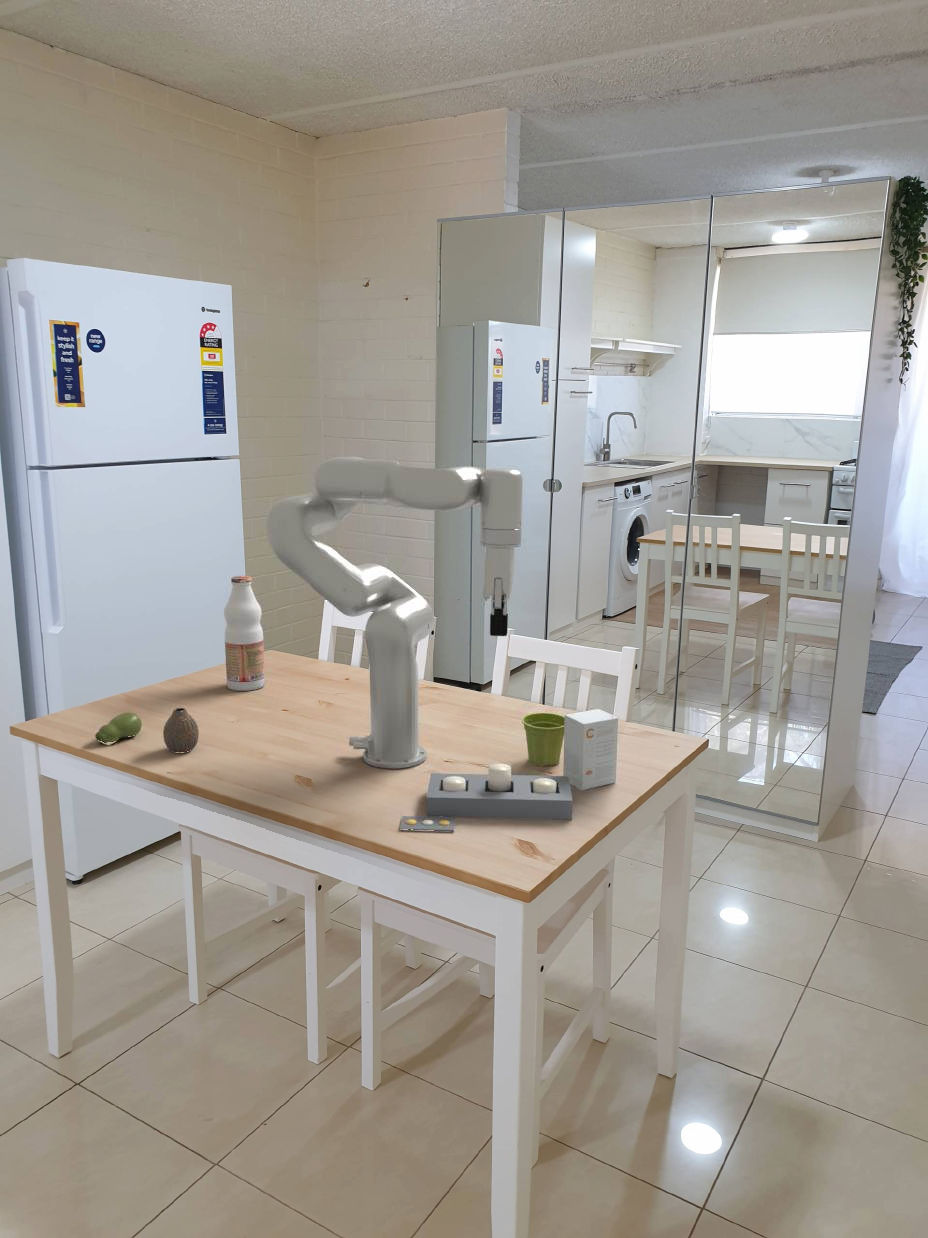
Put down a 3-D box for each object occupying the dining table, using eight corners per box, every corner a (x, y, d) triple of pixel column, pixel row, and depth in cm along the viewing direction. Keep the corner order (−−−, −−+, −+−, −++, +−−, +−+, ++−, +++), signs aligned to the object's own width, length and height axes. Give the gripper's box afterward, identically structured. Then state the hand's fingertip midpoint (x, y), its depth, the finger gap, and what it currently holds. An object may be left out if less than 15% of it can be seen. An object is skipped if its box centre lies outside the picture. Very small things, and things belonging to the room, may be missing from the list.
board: (426, 816, 162) (426, 797, 161) (431, 791, 173) (431, 773, 172) (572, 819, 161) (572, 800, 160) (567, 794, 172) (568, 776, 171)
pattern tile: (399, 831, 156) (399, 828, 156) (402, 818, 161) (402, 815, 161) (453, 832, 156) (453, 829, 156) (455, 819, 161) (455, 816, 161)
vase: (184, 742, 197) (182, 702, 196) (206, 749, 193) (204, 708, 192) (157, 751, 192) (154, 710, 190) (179, 758, 188) (176, 717, 186)
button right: (533, 806, 165) (533, 786, 164) (532, 796, 168) (533, 778, 168) (556, 806, 164) (556, 787, 164) (555, 797, 168) (555, 778, 168)
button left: (442, 804, 165) (442, 784, 164) (443, 795, 169) (443, 776, 168) (464, 804, 165) (465, 785, 164) (465, 795, 169) (465, 776, 168)
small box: (596, 772, 183) (598, 708, 180) (616, 783, 177) (619, 717, 174) (561, 779, 179) (563, 714, 176) (581, 791, 173) (583, 723, 171)
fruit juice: (223, 691, 233) (217, 580, 227) (231, 681, 242) (226, 573, 236) (261, 691, 233) (256, 580, 227) (268, 681, 242) (264, 573, 236)
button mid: (487, 791, 164) (488, 771, 164) (488, 782, 168) (488, 763, 167) (510, 791, 164) (511, 772, 163) (510, 782, 168) (510, 764, 167)
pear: (144, 711, 200) (103, 731, 192) (149, 733, 202) (109, 754, 194) (127, 706, 203) (87, 725, 195) (132, 728, 205) (93, 748, 197)
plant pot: (575, 758, 190) (576, 717, 188) (555, 773, 182) (556, 730, 180) (533, 750, 194) (534, 709, 192) (512, 764, 186) (513, 722, 185)
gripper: (483, 531, 179) (481, 625, 183) (477, 542, 165) (475, 644, 169) (522, 532, 179) (520, 626, 183) (519, 543, 164) (517, 645, 168)
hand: (498, 634), depth 176 cm, fingers closed
